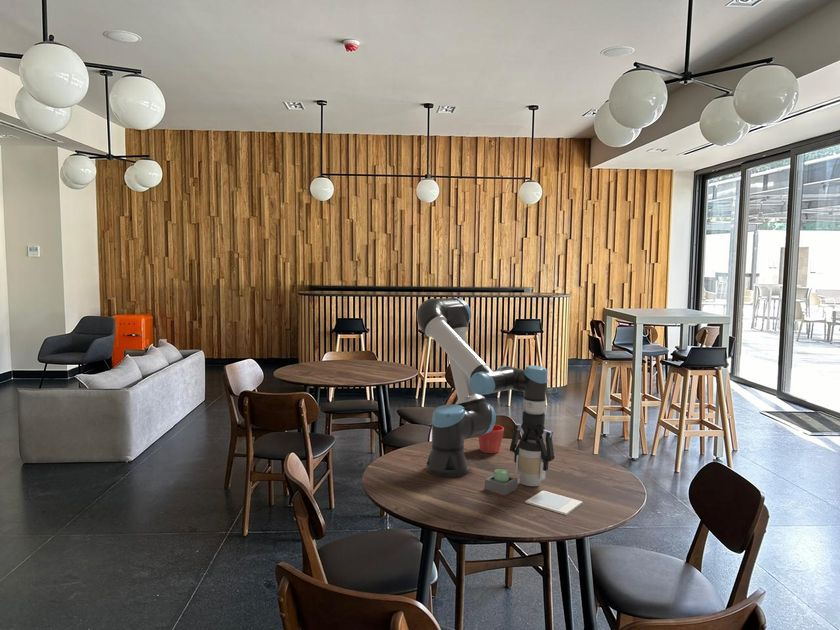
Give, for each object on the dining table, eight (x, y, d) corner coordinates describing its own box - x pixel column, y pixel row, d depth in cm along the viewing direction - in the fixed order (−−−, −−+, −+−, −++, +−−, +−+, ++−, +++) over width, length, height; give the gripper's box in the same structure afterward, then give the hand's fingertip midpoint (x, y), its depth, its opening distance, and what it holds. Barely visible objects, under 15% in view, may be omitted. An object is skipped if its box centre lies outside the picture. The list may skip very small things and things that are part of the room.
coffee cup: (543, 488, 202) (545, 445, 200) (516, 485, 203) (518, 442, 202) (543, 479, 210) (545, 437, 209) (517, 476, 212) (519, 435, 211)
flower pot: (488, 444, 251) (488, 422, 250) (508, 451, 243) (509, 427, 242) (470, 449, 244) (471, 426, 243) (491, 456, 236) (492, 432, 235)
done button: (490, 483, 202) (491, 471, 202) (498, 479, 206) (499, 468, 205) (503, 487, 199) (504, 475, 198) (511, 482, 203) (511, 471, 202)
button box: (484, 489, 202) (484, 479, 202) (496, 482, 208) (497, 472, 208) (505, 495, 197) (505, 485, 197) (517, 488, 203) (517, 478, 203)
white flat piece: (525, 502, 191) (525, 500, 191) (542, 492, 201) (542, 490, 200) (566, 515, 183) (566, 513, 182) (582, 503, 192) (582, 501, 192)
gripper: (501, 407, 208) (498, 470, 210) (557, 419, 195) (553, 487, 197) (512, 403, 214) (508, 465, 216) (567, 415, 201) (563, 480, 203)
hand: (530, 475), depth 207 cm, fingers closed on coffee cup, 8 cm apart
